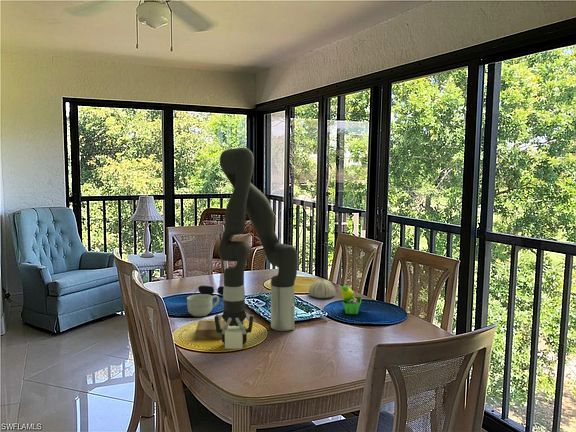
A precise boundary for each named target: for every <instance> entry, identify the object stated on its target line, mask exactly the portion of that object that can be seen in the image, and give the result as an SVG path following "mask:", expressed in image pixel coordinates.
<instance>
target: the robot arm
mask: <svg viewBox="0 0 576 432" xmlns="http://www.w3.org/2000/svg"><path fill="white" fill-rule="evenodd" d="M219 165H220V168H221V170H222V171H223V173H224V175H225V176H226V179H228V181H229V183H230V184H231V187H232V188H233V191H232V194H231V195H230V197H229V200H228V202H227V204H226V209H225V214H224V216H225V217H224V230H223V233H222V236H221V239H220V243H219V245H218V250H217V253H218V256H219V259H220V260H221V261H224V262H236V265H235V266H230V267H227V268H225V269H223V270H224V271H223V286H224V289H223V295H222V298H223V299H222V303H223V306H222V307H223V312H222V314H219V313H217V314H215V315H214V321H215V325H216V331H217V332H218V333H221V334H222V339H221V342H222V343H223V345H225V330H227V328H228V326H239V327H240V329H241V330H243V345H245V344H246V343H247V340H248V335H247V334H248V333H252V330H253V323H254V314H253V313H252V314H247V313H246V308H245V307H246V302H245V301H246V293H245V292H246V291H245V269H246V264H247V261H248V257H249V253H250V247H249V245H248V243H247V242H245V241H237V240H232V239H233V238H234V236H238V235H242V234H244V233H245V231H246V216H247V217H248V218H249V221H250V222H251V224H252V226H253V228H254V230H255V232H256V234H257V237H258V238H259V240H260V244H261V245H262V248H263V252H264V255H265V257H266V259H267V261H268V263H269V264H270V265H272V266H273V267H277V268H278V273H277V275H273V276H272V277H271V279H270V328H271V329H272V330H274V331H278V332H280V331H281V332H286V331H292V330H293V331H294V330H295V281H296V279H297V274H298V273H297V271H298V252H297V249H296V247H295V246H293V245H291V244H285V243H281V241H280V240H279V237H278V236H277V234H276V232H275V218H276V217H275V212H274V210H273V208H272V206H271V204H270V201H269V199H268V198H267V196H266V195H265V194H264V193H263V192H262V191H260V189H258V187H256V186H255V185H254V184H253V183H252V182H251V181H252V178H253V174H254V168H255V167H254V166H255V157H254V154H253V152H252V150H250V149H249V148H248V147H236V148H230V149H225V150H224V151H222V152H221V154H220V157H219ZM246 214H247V215H246ZM222 319H223V320H224V321H225V326H224V328H223V329H222V328H221V326H220V321H221V320H222ZM245 319H246V320H247V322H249V323H248V327H246V326H245V323H244V321H245Z"/></svg>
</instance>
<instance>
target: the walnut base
mask: <svg viewBox="0 0 576 432" xmlns="http://www.w3.org/2000/svg"><path fill="white" fill-rule="evenodd" d="M225 324H226V322H225V321H224V319H223V320H222V319H221V321H220V326H221V328H222V329H223V328H224V326H225ZM195 340H222V334H221V333H218V332H217V331H216V325H215V320H198V322H197V325H196V328H195Z"/></svg>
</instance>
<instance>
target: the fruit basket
mask: <svg viewBox="0 0 576 432" xmlns="http://www.w3.org/2000/svg"><path fill="white" fill-rule="evenodd" d="M340 292H341V298H342V299H343V301H342V305H343V308H344V313H345V314H346V315H347V314H349V315H358V313H359V309H360V306H361V303H362V297H361V296H354V294H355V292H354V290H352V289H351V288H349V286H348V285H343V286H341V289H340Z"/></svg>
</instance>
